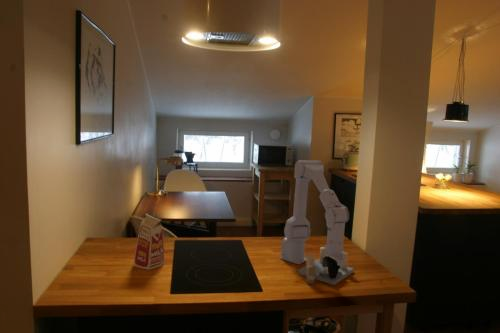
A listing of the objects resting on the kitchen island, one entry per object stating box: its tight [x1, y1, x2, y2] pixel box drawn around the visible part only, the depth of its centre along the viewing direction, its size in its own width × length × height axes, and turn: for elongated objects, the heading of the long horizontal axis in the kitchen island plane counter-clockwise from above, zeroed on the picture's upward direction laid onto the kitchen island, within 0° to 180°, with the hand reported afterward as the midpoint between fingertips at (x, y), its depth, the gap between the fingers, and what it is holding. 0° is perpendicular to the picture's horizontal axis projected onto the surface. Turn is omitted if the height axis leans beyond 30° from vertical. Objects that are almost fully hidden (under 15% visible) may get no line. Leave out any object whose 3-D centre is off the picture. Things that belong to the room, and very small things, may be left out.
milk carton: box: [132, 213, 166, 271], centre depth 144 cm, size 9×9×20 cm
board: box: [298, 246, 354, 286], centre depth 144 cm, size 15×17×8 cm
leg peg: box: [305, 265, 316, 285], centre depth 134 cm, size 3×3×6 cm
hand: (332, 277), depth 131 cm, fingers closed
